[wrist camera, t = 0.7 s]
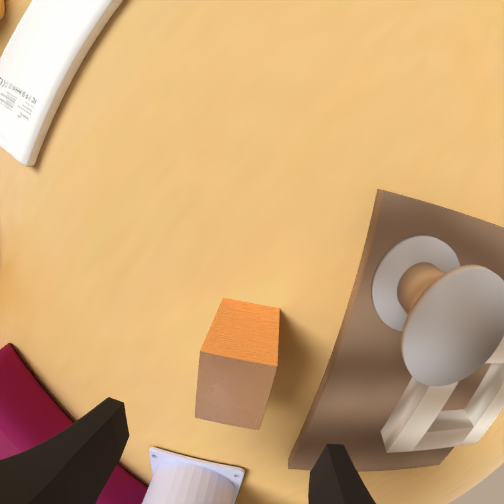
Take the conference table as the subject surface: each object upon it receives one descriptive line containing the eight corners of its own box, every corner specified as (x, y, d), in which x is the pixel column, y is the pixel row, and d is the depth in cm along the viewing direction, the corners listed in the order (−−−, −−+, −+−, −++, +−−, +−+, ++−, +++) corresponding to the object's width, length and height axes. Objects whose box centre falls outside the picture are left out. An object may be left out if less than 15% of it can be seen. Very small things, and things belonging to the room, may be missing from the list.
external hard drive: (137, -8, 12) (40, 165, 16) (63, -22, 11) (-14, 122, 15) (126, -19, 10) (23, 167, 14) (51, -30, 10) (-28, 122, 13)
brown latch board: (436, 456, 19) (453, 505, 13) (288, 458, 20) (286, 522, 14) (546, 244, 13) (604, 274, 7) (377, 188, 14) (434, 207, 8)
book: (14, 335, 20) (-40, 380, 13) (201, 514, 25) (188, 564, 18) (-30, 379, 25) (-61, 408, 17) (101, 510, 30) (85, 543, 23)
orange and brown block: (265, 367, 17) (259, 429, 12) (215, 357, 17) (194, 417, 12) (279, 308, 16) (277, 366, 11) (223, 297, 16) (200, 351, 11)
